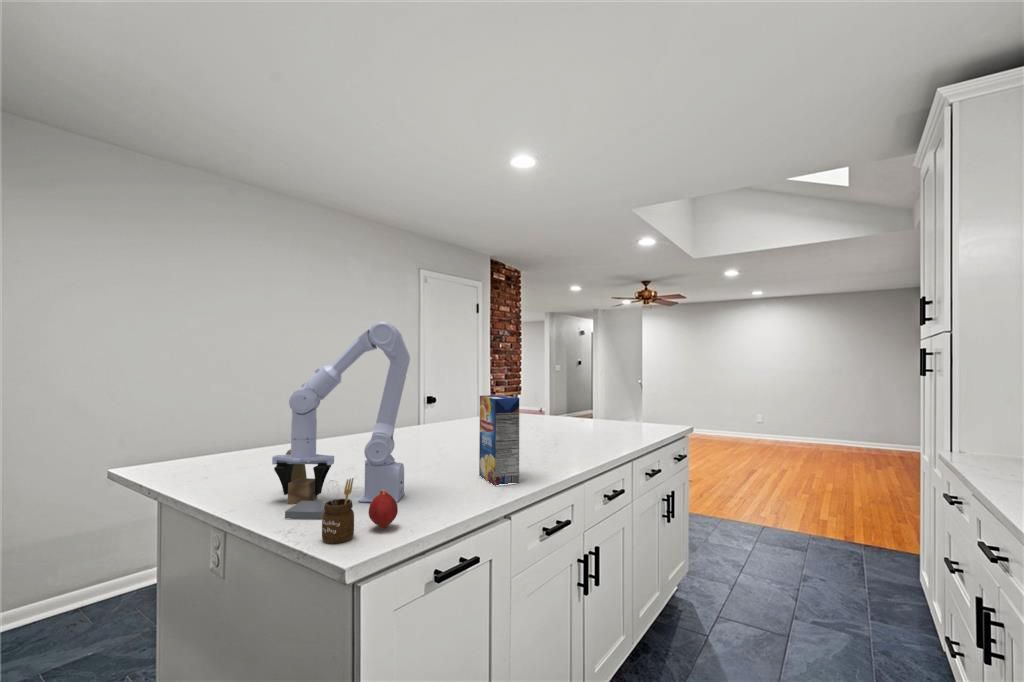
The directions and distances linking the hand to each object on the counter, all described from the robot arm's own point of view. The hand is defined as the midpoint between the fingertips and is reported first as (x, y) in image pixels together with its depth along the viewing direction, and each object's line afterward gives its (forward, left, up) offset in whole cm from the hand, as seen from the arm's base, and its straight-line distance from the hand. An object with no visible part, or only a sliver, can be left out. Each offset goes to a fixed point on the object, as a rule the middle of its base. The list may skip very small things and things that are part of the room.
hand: (302, 493), depth 118 cm
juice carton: (-47, -22, -2) cm, 52 cm away
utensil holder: (-18, +24, -2) cm, 30 cm away
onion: (-25, +18, -2) cm, 31 cm away
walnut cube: (0, 0, -2) cm, 2 cm away
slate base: (-6, +9, -2) cm, 11 cm away
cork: (+6, -9, -2) cm, 11 cm away
